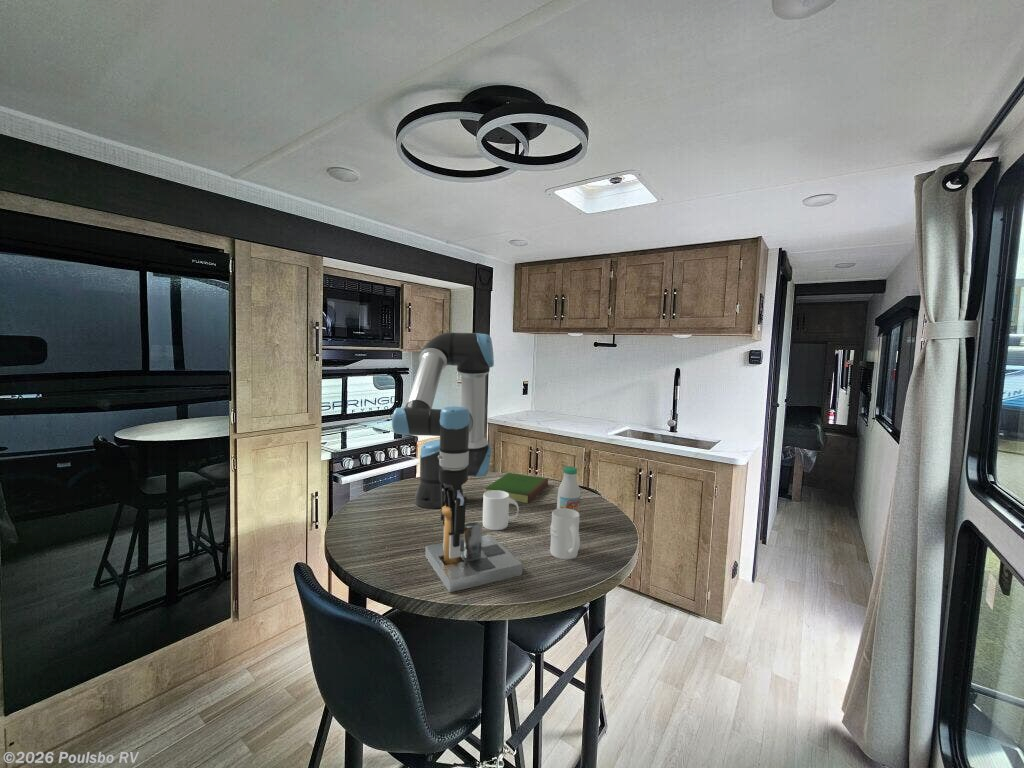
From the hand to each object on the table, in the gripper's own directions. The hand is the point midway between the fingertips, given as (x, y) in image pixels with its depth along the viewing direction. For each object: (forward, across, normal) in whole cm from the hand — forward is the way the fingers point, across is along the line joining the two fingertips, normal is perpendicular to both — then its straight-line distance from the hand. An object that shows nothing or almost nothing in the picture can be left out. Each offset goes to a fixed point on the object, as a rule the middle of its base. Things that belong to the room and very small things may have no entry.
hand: (451, 553), depth 115 cm
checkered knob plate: (+5, 0, +6) cm, 8 cm away
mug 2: (+5, +6, +33) cm, 34 cm away
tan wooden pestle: (+3, 0, 0) cm, 3 cm away
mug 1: (+5, -21, +25) cm, 33 cm away
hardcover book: (+5, -51, +48) cm, 70 cm away
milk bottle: (+5, -12, +46) cm, 48 cm away
